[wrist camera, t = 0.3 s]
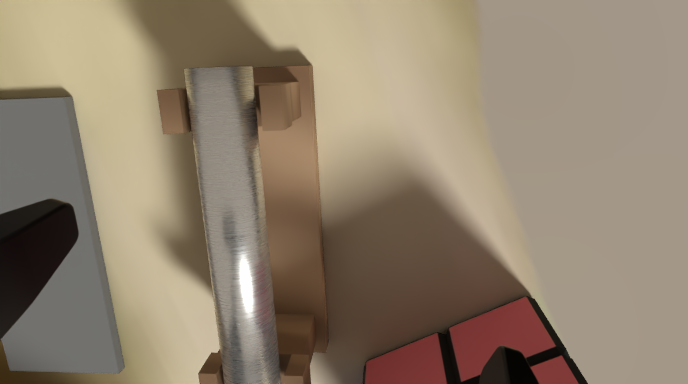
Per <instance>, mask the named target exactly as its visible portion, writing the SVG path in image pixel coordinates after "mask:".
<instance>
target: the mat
mask: <svg viewBox="0 0 688 384" xmlns="http://www.w3.org/2000/svg"><path fill="white" fill-rule="evenodd" d="M49 198H55V199H59V200H62V201H65V202H68V203H70V204H71V205H72V206H73V207H74V210H75V215H76V220H77V224H78V229H79V236H78V240H77V242H76V243H75V245H74V246H73V248H72V249H71V251H70V252H69V253H68V255H67V256H66V258H65V259H64V260H63V262H62V263H61V265H60V266H59V267H58V269H57V270H56V272H55V273H54V274H53V276H52V277H51V279H50V280H49V281H48V283H47V284H46V286H45V287H44V288H43V290H42V291H41V293H40V294H39V295H38V297H37V298H36V299H35V300H34V302H33V303H32V304H31V306H30V307H29V308H28V309H27V310H26V311H25V313H24V314H23V315H22V316H21V317H20V318H19V320H18V321H17V322H16V323H15V324H14V325H13V326H12V327H11V329H10V330H9V331H8V332H7V333H6V334H5V335H4V337H3V338H2V339H1V340H2V343H3V347H4V351H5V354H6V358H7V362H8V366H9V369H10V371H38V372H75V373H113V374H119V373H120V372H121V371H122V370H123V368H124V361H123V356H122V351H121V346H120V341H119V336H118V331H117V325H116V320H115V315H114V310H113V305H112V300H111V295H110V289H109V284H108V279H107V274H106V269H105V264H104V258H103V253H102V248H101V243H100V238H99V233H98V228H97V222H96V217H95V212H94V207H93V202H92V197H91V192H90V186H89V181H88V176H87V171H86V166H85V161H84V155H83V150H82V145H81V140H80V135H79V130H78V125H77V119H76V114H75V109H74V104H73V99H72V97H51V98H25V99H1V100H0V214H2V213H5V212H8V211H11V210H14V209H18V208H21V207H24V206H27V205H30V204H33V203H36V202H39V201H42V200H46V199H49Z"/></svg>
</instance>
